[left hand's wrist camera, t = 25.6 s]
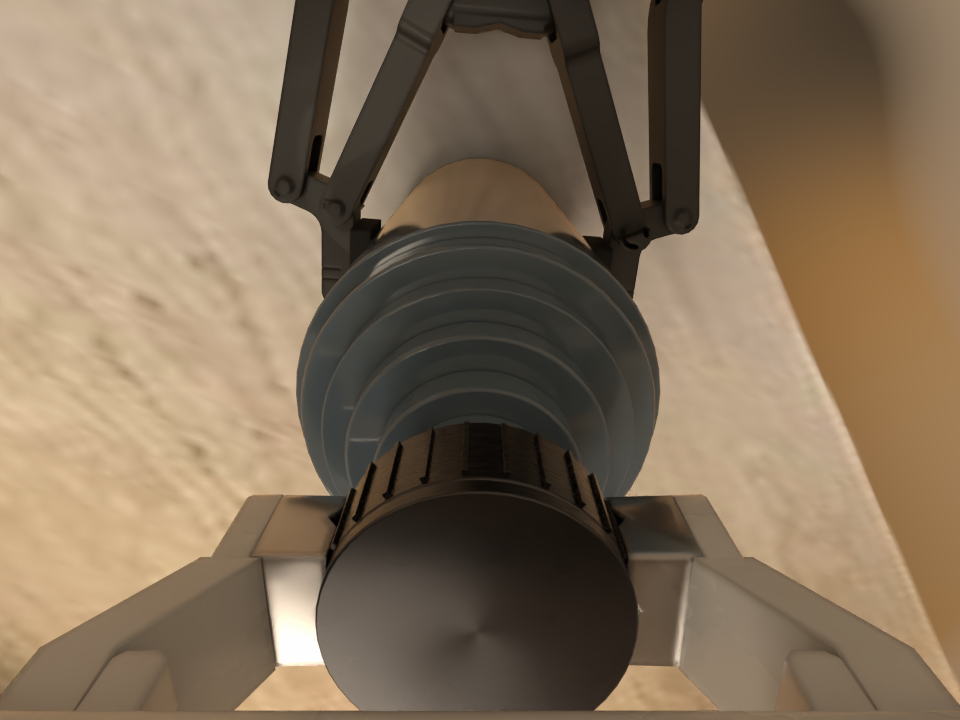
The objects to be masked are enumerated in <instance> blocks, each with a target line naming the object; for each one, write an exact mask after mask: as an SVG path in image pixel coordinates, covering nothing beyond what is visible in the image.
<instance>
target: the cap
mask: <svg viewBox="0 0 960 720" xmlns="http://www.w3.org/2000/svg"><path fill="white" fill-rule="evenodd" d="M618 527H619V526H618V523H617V520H616V517H615V515H614V512H612V511H611V507H610V504H609V501H608V500H607V501H605V499H604V496H603V494H602V492H601V490H600V487H599V484H598V481H597V478H596V476H595V474H594V473H591V474H589V472H588V471H587V470H586V469H585V467H584V466H583V465H582V464H581V463H580V462H579V461H577V460H576V459H575V458H574V456H573V452H571V451H570V450H569V449H568V450H567V451H565V450H564V449H562V448H561V447H560V446H558V445H557V444H555V443H553V442H551V441H549V440H547V439H545V438H544V437H543V436H542V434H540V433H538V432H537V433H536V434H534V433H532V432H529V431H526V430H523V429H520V428H516V427H511V426H507V423H501V424H493V423H470V421H464V423H462V424H454V425H447V426H443V427H439V428H435V429H433V427H431V428H428V429H427V431H426V432H423V433H421V434H418V435H415V436H413V437H411V438H409V439H407V440H405V441H404V442H402V443H400V441H398V442H397V443H395V444H394V448H392V449H391V450H389V451H388V452H387V453H385V454H384V455H383V456H382V457H380V458H379V459H378V460H377V461H376V462H375V463H373V462H371V463H370V464H369V465H368V467H367V470H366V473H365V475H364V476H363V477H362V478H361V480H360V481H359V483H358V485H357V486H356V488H355V489H354V488H351V489H350V491H349V493H348V496H347V499H346V502H345V505H344V508H343V511H342V514H341V517H340V520H339V523H338V526H337V528H336V531H335V534H334V537H333V540H332V543H331V546H330V548H331V549H333V551H332V554H331V557H330V560H329V563H328V566H327V569H326V571H325V575H324V577H323V580H322V583H321V586H320V589H319V594H318V598H317V603H316V613H315V627H316V636H317V642H318V645H319V649H320V653H321V656H322V659H323V661H324V663H325V665H326V668H327V670H328V672H329V674H330V675H331V677H332V679H333V680H334V682H335V683H336V685H337V686H338V688H339V689H340V690H341V691H342V692H343V694H344V695H345V696H346V697H347V698H348V699H349V701H350V702H352V703H353V704H354V705H355V706H356V707H357V708H358V709H359V710H360V711H594V710H595V709H596V708H597V707H598V706H599V705H600V704H601V703H603V702H604V701H605V700H606V699H607V697H608V696H609V695H610V694H611V693H612V691H613V690H614V689H615V688H616V687H617V685H618V684H619V682H620V680H621V679H622V677H623V676H624V674H625V672H626V670H627V668H628V666H629V663H630V661H631V659H632V657H633V653H634V649H635V645H636V642H637V637H638V626H639V614H638V603H637V599H636V595H635V590H634V586H633V583H632V580H631V577H630V574H629V571H628V568H627V565H626V563H627V555H626V552H625V550H624V547H623V544H622V541H621V538H620V535H619V532H618Z"/></svg>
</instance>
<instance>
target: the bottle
mask: <svg viewBox="0 0 960 720" xmlns="http://www.w3.org/2000/svg"><path fill="white" fill-rule="evenodd" d="M296 397H297V406H298V415H299V419H300V423H301V427H302V431H303V435H304V438H305V442H306V445H307V449H308V453H309V455H310V458H311V460H312V462H313V465H314V467H315V470H316V472H317V474H318V476H319V477H320V479H321V481H322V483H323V484H324V486H325V488H326V490H327V491H328V492H329V494H330V495H331V496H348V493H349V491H350V489H351V488H354V489H355V488H356V486H357V485H358V483H359V481H360V480H361V478H362V477H363V476H364V475H365V473H366V470H367V467H368V465H369V464H370V463H371V462H373V463H375V462H376V461H377V460H378V459H379V458H380V457H382V456H383V455H384V454H385V453H387V452H388V451H389V450H391V449H392V448H394V444H395V443H397V442H398V441H400V443H402V442H404V441H405V440H407V439H409V438H411V437H413V436H415V435H418V434H421V433H423V432H426V431H427V429H428V428H431V427H433V429H435V428H439V427H443V426H447V425H454V424H462V423H464V421H470V423H493V424H501V423H507V426H511V427H516V428H520V429H523V430H526V431H529V432H532V433H534V434H536V433H537V432H538V433H540V434H542V436H543V437H544V438H545V439H547V440H549V441H551V442H553V443H555V444H557V445H558V446H560V447H561V448H562V449H564V450H565V451H567V450H568V449H569V450H570V451H571V452H573V456H574V458H575V459H576V460H577V461H579V462H580V463H581V464H582V465H583V466H584V467H585V469H586V470H587V471H588V472H589V474H591V473H594V474H595V476H596V478H597V481H598V484H599V487H600V490H601V492H602V494H603V496H604V499H605V497H624V496H625V495H626V494H627V492H628V491H629V490H630V488H631V487H632V485H633V483H634V481H635V479H636V478H637V476H638V474H639V472H640V470H641V468H642V465H643V463H644V460H645V458H646V455H647V453H648V450H649V446H650V442H651V438H652V436H653V432H654V428H655V424H656V420H657V416H658V409H659V399H660V378H659V367H658V361H657V356H656V351H655V347H654V344H653V341H652V338H651V335H650V332H649V329H648V327H647V325H646V323H645V321H644V319H643V317H642V315H641V313H640V311H639V309H638V307H637V305H636V304H635V303H634V301H633V300H632V298H631V297H630V296H629V294H628V293H627V292H626V290H625V289H624V287H623V286H622V285H621V284H620V282H619V281H618V280H617V279H616V277H615V276H614V275H613V274H612V272H611V271H610V270H609V269H608V268H607V266H606V265H605V264H604V263H603V261H602V260H601V259H600V258H599V256H598V255H597V254H596V253H595V251H594V250H593V249H592V248H591V247H590V245H589V244H588V243H587V242H586V240H585V239H584V238H583V237H582V235H581V234H580V233H579V232H578V231H577V229H576V228H575V227H574V226H573V224H572V223H571V222H570V221H569V219H568V218H567V217H566V216H565V215H564V213H563V212H562V211H561V210H560V208H559V207H558V206H557V205H556V203H555V202H554V201H553V200H552V199H551V197H550V196H549V195H548V194H547V192H546V191H545V190H544V189H543V188H542V187H541V186H540V184H539V183H538V182H537V181H536V180H535V179H533V178H532V177H531V176H530V175H528V174H527V173H525V172H524V171H522V170H520V169H519V168H517V167H515V166H512V165H510V164H508V163H505V162H501V161H497V160H492V159H466V160H460V161H457V162H453V163H450V164H448V165H445V166H443V167H441V168H439V169H437V170H436V171H434V172H432V173H431V174H429V175H428V176H427V177H426V178H425V179H423V180H422V181H421V182H420V183H419V184H418V185H417V186H416V187H415V189H414V190H413V191H412V192H411V193H410V194H409V196H408V197H407V198H406V199H405V200H404V202H403V203H402V204H401V205H400V207H399V208H398V209H397V210H396V211H395V213H394V214H393V215H392V216H391V217H390V219H389V220H388V221H387V222H386V223H385V225H384V226H383V227H382V228H381V229H380V231H379V232H378V233H377V234H376V235H375V237H374V238H373V239H372V240H371V241H370V243H369V244H368V245H367V246H366V247H365V249H364V250H363V251H362V252H361V254H360V255H359V256H358V257H357V258H356V260H355V261H354V262H353V263H352V264H351V266H350V267H349V268H348V269H347V270H346V272H345V273H344V274H343V275H342V276H341V278H340V279H339V280H338V281H337V282H336V284H335V285H334V286H333V287H332V289H331V290H330V291H329V293H328V294H327V296H326V297H325V299H324V300H323V301H322V303H321V304H320V306H319V307H318V309H317V311H316V313H315V315H314V317H313V319H312V321H311V323H310V325H309V327H308V330H307V333H306V336H305V338H304V341H303V344H302V347H301V351H300V357H299V362H298V368H297V382H296Z"/></svg>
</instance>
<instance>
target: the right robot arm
mask: <svg viewBox="0 0 960 720" xmlns="http://www.w3.org/2000/svg"><path fill="white" fill-rule="evenodd" d="M702 2H703V0H651V3H650V9H649V16H648V104H649V176H650V200H647V201H644V202H640V200H639V196H638V192H637V189H636V185H635V181H634V177H633V174H632V170H631V166H630V162H629V159H628V155H627V151H626V148H625V144H624V140H623V136H622V133H621V129H620V125H619V121H618V118H617V114H616V110H615V106H614V103H613V99H612V95H611V91H610V88H609V84H608V80H607V76H606V73H605V69H604V65H603V62H602V58H601V54H600V42H599V36H598V32H597V28H596V24H595V21H594V17H593V13H592V9H591V6H590V2H589V0H408V3H407V5H406V7H405V9H404V11H403V14H402V16H401V18H400V21H399V24H398V27H397V31H396V34H395V37H394V39H393V41H392V44H391V46H390V48H389V50H388V52H387V55H386V57H385V59H384V61H383V63H382V66H381V68H380V70H379V72H378V74H377V77H376V79H375V81H374V83H373V85H372V88H371V90H370V92H369V94H368V96H367V99H366V101H365V103H364V105H363V107H362V110H361V112H360V114H359V116H358V118H357V121H356V123H355V125H354V127H353V129H352V132H351V134H350V136H349V138H348V141H347V143H346V145H345V147H344V149H343V152H342V154H341V156H340V158H339V160H338V163H337V165H336V167H335V169H334V171H333V174H332V176H331V178H329V177H327V176H324V175H322V174H320V173H319V169H320V163H321V158H322V152H323V146H324V141H325V135H326V129H327V124H328V118H329V112H330V107H331V101H332V95H333V90H334V84H335V78H336V73H337V67H338V61H339V56H340V50H341V44H342V39H343V33H344V27H345V22H346V16H347V10H348V4H349V0H296V1H295V7H294V14H293V20H292V27H291V34H290V40H289V47H288V53H287V60H286V67H285V73H284V80H283V86H282V93H281V99H280V106H279V113H278V119H277V126H276V132H275V139H274V146H273V152H272V159H271V165H270V172H269V179H268V189H269V191H270V193H271V195H272V196H273V197H274V198H275V199H276V200H277V201H280V202H282V203H291V204H293V205H296V206H298V207H300V208H302V209H305V210H307V211H309V212H310V213H312V214H313V215H314V216H315V217H316V218H317V220H318V221H319V223H320V226H321V231H322V295H323V297H324V299H325V297H326V296H327V294H328V293H329V291H330V290H331V289H332V287H333V286H334V285H335V284H336V282H337V281H338V280H339V279H340V278H341V276H342V275H343V274H344V273H345V272H346V270H347V269H348V268H349V267H350V266H351V264H352V263H353V262H354V261H355V260H356V258H357V257H358V256H359V255H360V254H361V252H362V251H363V250H364V249H365V247H366V246H367V245H368V244H369V243H370V241H371V240H372V239H373V238H374V237H375V235H376V234H377V233H378V232H379V231H380V229H381V220H379V219H367V218H362V219H361V210H362V208H363V207H364V206H365V205H363V204H364V202H365V200H366V198H367V196H368V193H369V191H370V189H371V187H372V185H373V183H374V181H375V179H376V177H377V175H378V173H379V170H380V168H381V166H382V164H383V162H384V160H385V158H386V156H387V154H388V152H389V149H390V147H391V145H392V143H393V141H394V139H395V137H396V135H397V133H398V131H399V128H400V126H401V124H402V122H403V120H404V118H405V116H406V114H407V112H408V110H409V107H410V105H411V103H412V101H413V99H414V97H415V95H416V93H417V91H418V89H419V86H420V84H421V82H422V80H423V78H424V76H425V74H426V72H427V70H428V68H429V66H430V63H431V61H432V59H433V58H434V56H435V54H436V53H437V51H438V49H439V47H440V45H441V43H442V41H443V39H444V37H445V35H446V33H447V31H448V28H449V27H450V28H452V29H454V31H455V32H460V33H471V34H478V33H483V32H488V31H493V30H501V31H504V32H506V33H509V34H511V35H514V36H516V37H519V38H528V39H541V38H542V37H544V36H546V37H547V40H548V44H549V47H550V51H551V54H552V57H553V60H554V63H555V65H556V67H557V69H558V72H559V76H560V79H561V83H562V86H563V90H564V93H565V96H566V100H567V103H568V107H569V110H570V114H571V117H572V121H573V124H574V127H575V131H576V134H577V138H578V141H579V145H580V148H581V152H582V155H583V158H584V162H585V165H586V169H587V172H588V176H589V179H590V183H591V186H592V190H593V193H594V196H595V200H596V203H597V207H598V210H599V214H600V217H601V221H602V224H603V227H604V234H603V239H602V238H601V237H593V236H582V237H583V238H584V239H585V240H586V242H587V243H588V244H589V245H590V247H591V248H592V249H593V250H594V251H595V253H596V254H597V255H598V256H599V258H600V259H601V260H602V261H603V263H604V264H605V265H606V266H607V268H608V269H609V270H610V271H611V272H612V274H613V275H614V276H615V277H616V279H617V280H618V281H619V282H620V284H621V285H622V286H623V287H624V289H625V290H626V292H627V293H628V294H629V296H630V297H631V298H632V300H633V294H634V288H635V282H636V275H637V269H638V263H639V257H640V254H641V251H642V250H643V249H645V248H646V247H647V246H648V245H649V243H650V241H652V240H654V239H656V238H660V237H664V236H667V235H671V234H682V235H683V234H686V233H689V232H690V231H692V230H693V229H694V228H695V226H696V225H697V223H698V219H699V184H700V96H701V7H702V6H701V5H702Z"/></svg>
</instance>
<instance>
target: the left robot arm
mask: <svg viewBox="0 0 960 720" xmlns="http://www.w3.org/2000/svg"><path fill="white" fill-rule="evenodd" d="M346 499H347V496H307V495H285V496H284V495H253V496H250V497H248V498H247V499H246V501H245V502H244V504H243V506H242V507H241V509H240V511H239V512H238V514H237V515H236V517H235V519H234V520H233V522H232V524H231V525H230V527H229V529H228V530H227V532H226V534H225V535H224V537H223V538H222V540H221V542H220V543H219V545H218V547H217V548H216V550H215V552H214V553H213V555H212V557H201V558H199V559H197V560H195V561H194V562H192V563H190V564H188V565H186V566H185V567H183V568H181V569H179V570H177V571H176V572H174V573H172V574H170V575H169V576H167V577H165V578H163V579H161V580H160V581H158V582H156V583H154V584H153V585H151V586H149V587H147V588H145V589H144V590H142V591H140V592H138V593H136V594H135V595H133V596H131V597H129V598H128V599H126V600H124V601H122V602H120V603H119V604H117V605H115V606H113V607H111V608H110V609H108V610H106V611H104V612H103V613H101V614H99V615H97V616H95V617H94V618H92V619H90V620H88V621H86V622H85V623H83V624H81V625H79V626H78V627H76V628H74V629H72V630H70V631H69V632H67V633H65V634H63V635H62V636H60V637H58V638H56V639H54V640H53V641H51V642H49V643H47V644H45V645H44V646H42V647H40V648H39V649H38V650H37V652H36V653H35V654H34V655H33V656H32V658H31V659H30V660H29V661H28V663H27V664H26V665H25V666H24V667H23V669H22V670H21V671H20V672H19V673H18V675H17V676H16V677H15V678H14V679H13V681H12V682H11V683H10V684H9V685H8V687H7V688H6V689H5V690H4V692H3V693H2V694H1V695H0V720H960V705H959V704H958V703H957V701H956V700H955V699H954V698H953V696H952V695H951V694H950V693H949V691H948V690H947V689H946V688H945V686H944V685H943V684H942V683H941V681H940V680H939V679H938V678H937V677H936V675H935V674H934V673H933V672H932V670H931V669H930V668H929V667H928V665H927V664H926V663H925V662H924V660H923V659H922V658H921V657H920V655H919V654H918V653H917V652H916V650H915V649H914V648H912V647H910V646H908V645H907V644H905V643H903V642H901V641H900V640H898V639H896V638H894V637H893V636H891V635H889V634H887V633H885V632H884V631H882V630H880V629H878V628H877V627H875V626H873V625H871V624H870V623H868V622H866V621H864V620H863V619H861V618H859V617H857V616H856V615H854V614H852V613H850V612H848V611H847V610H845V609H843V608H841V607H840V606H838V605H836V604H834V603H833V602H831V601H829V600H827V599H826V598H824V597H822V596H820V595H818V594H817V593H815V592H813V591H811V590H810V589H808V588H806V587H804V586H803V585H801V584H799V583H797V582H796V581H794V580H792V579H790V578H789V577H787V576H785V575H783V574H781V573H780V572H778V571H776V570H774V569H773V568H771V567H769V566H767V565H766V564H764V563H762V562H760V561H759V560H757V559H755V558H753V557H742V555H741V553H740V552H739V550H738V548H737V547H736V545H735V543H734V542H733V540H732V538H731V537H730V535H729V533H728V532H727V530H726V528H725V527H724V525H723V523H722V522H721V520H720V518H719V517H718V515H717V513H716V512H715V510H714V509H713V507H712V505H711V504H710V502H709V500H708V499H707V497H705V496H704V495H702V494H698V495H672V496H633V497H605V501H607V500H608V501H609V504H610V507H611V511H612V512H614V515H615V517H616V520H617V523H618V526H619V527H618V532H619V535H620V538H621V541H622V544H623V547H624V550H625V552H626V555H627V563H626V565H627V568H628V571H629V574H630V577H631V580H632V583H633V586H634V590H635V595H636V599H637V603H638V614H639V626H638V637H637V642H636V645H635V649H634V653H633V657H632V659H631V661H630V663H629V665H644V666H679V670H680V671H681V672H682V673H683V674H684V675H685V676H686V677H687V678H688V679H689V680H690V681H691V682H692V683H693V684H694V685H695V686H696V687H697V688H698V689H699V690H700V691H701V692H702V693H703V694H704V695H705V696H706V697H707V698H708V699H709V700H710V701H711V702H712V703H713V704H714V705H715V706H716V707H717V708H718V709H719V710H720V711H234V710H235V709H236V708H237V707H238V706H239V705H240V704H241V703H242V702H243V701H244V700H245V699H246V698H247V697H248V696H249V695H250V694H251V693H252V692H253V691H254V690H255V689H256V688H257V687H258V686H259V685H260V684H261V683H262V682H264V681H265V680H266V679H267V678H268V677H269V676H270V675H271V674H272V673H273V672H274V671H275V666H309V665H325V663H324V661H323V659H322V656H321V653H320V649H319V645H318V642H317V636H316V627H315V613H316V603H317V598H318V594H319V589H320V586H321V583H322V580H323V577H324V575H325V571H326V569H327V566H328V563H329V560H330V557H331V554H332V551H333V549H331V548H330V546H331V543H332V540H333V537H334V534H335V531H336V528H337V526H338V523H339V520H340V517H341V514H342V511H343V508H344V505H345V502H346Z"/></svg>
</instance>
